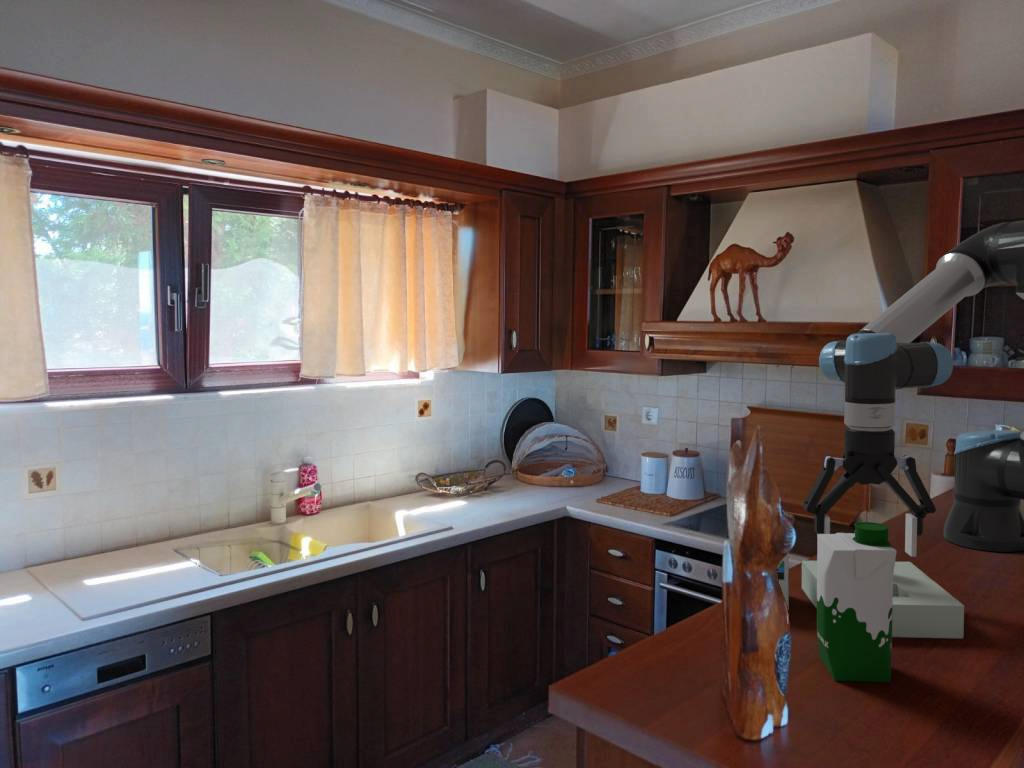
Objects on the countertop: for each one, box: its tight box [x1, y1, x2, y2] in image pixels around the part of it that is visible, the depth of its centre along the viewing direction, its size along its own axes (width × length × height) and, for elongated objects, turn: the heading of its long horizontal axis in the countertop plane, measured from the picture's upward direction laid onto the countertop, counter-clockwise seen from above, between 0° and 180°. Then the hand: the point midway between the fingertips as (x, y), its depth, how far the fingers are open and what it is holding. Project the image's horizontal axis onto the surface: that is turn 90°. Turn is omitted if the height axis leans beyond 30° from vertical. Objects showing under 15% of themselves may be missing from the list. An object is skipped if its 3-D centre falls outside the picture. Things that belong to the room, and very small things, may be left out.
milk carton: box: [816, 521, 897, 683], centre depth 102 cm, size 9×9×20 cm
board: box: [801, 560, 965, 640], centre depth 123 cm, size 18×20×5 cm
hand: (867, 554), depth 126 cm, fingers open, 13 cm apart
